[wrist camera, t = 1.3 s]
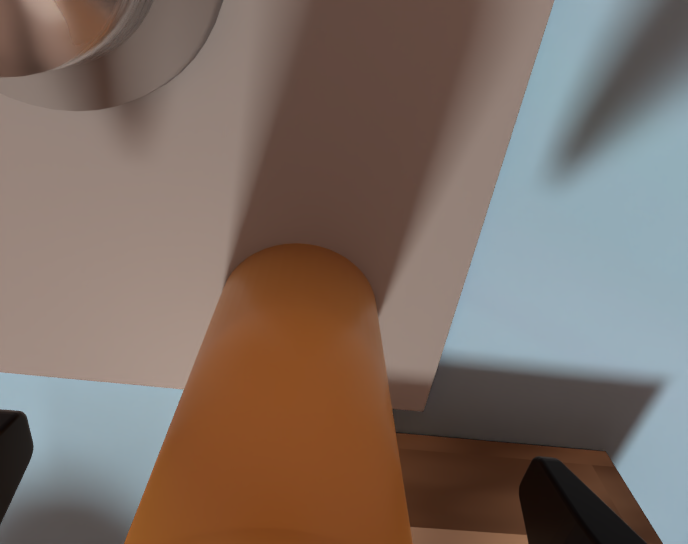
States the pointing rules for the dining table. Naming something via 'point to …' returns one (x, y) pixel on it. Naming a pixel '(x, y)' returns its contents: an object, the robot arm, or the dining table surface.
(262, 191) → the dial plate
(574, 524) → the robot arm
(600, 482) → the tray
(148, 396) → the dining table surface
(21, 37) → the crank
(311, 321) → the pin
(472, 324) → the dining table surface
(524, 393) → the dining table surface
